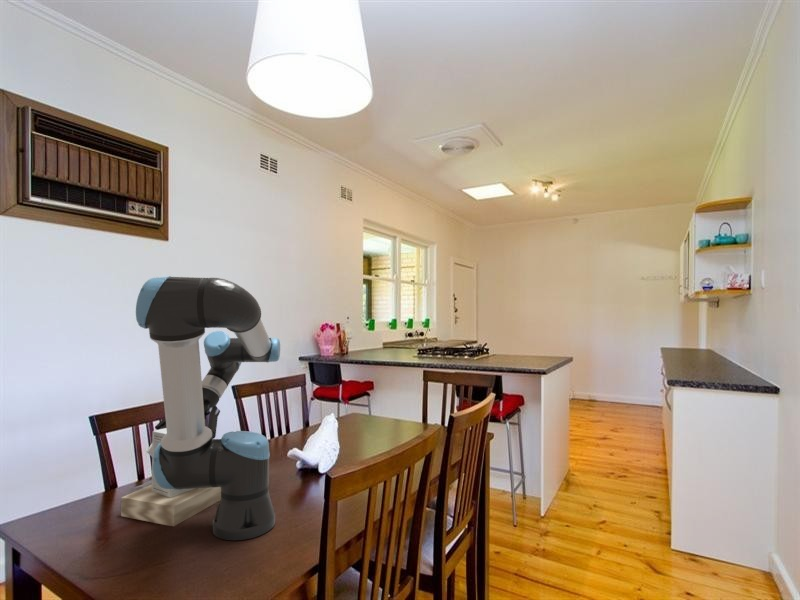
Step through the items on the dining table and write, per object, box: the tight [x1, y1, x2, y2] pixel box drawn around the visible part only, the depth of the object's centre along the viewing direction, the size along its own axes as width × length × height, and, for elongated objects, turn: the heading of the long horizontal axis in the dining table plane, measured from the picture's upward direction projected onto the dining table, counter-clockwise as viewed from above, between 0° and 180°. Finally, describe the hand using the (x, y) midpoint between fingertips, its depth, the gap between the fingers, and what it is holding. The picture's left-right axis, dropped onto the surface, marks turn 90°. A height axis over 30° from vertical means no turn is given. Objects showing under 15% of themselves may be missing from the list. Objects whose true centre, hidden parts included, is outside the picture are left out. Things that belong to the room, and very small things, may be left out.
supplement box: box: [151, 428, 196, 498], centre depth 125 cm, size 10×9×17 cm
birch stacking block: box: [120, 485, 221, 527], centre depth 125 cm, size 18×18×5 cm
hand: (168, 456), depth 123 cm, fingers open, 13 cm apart
